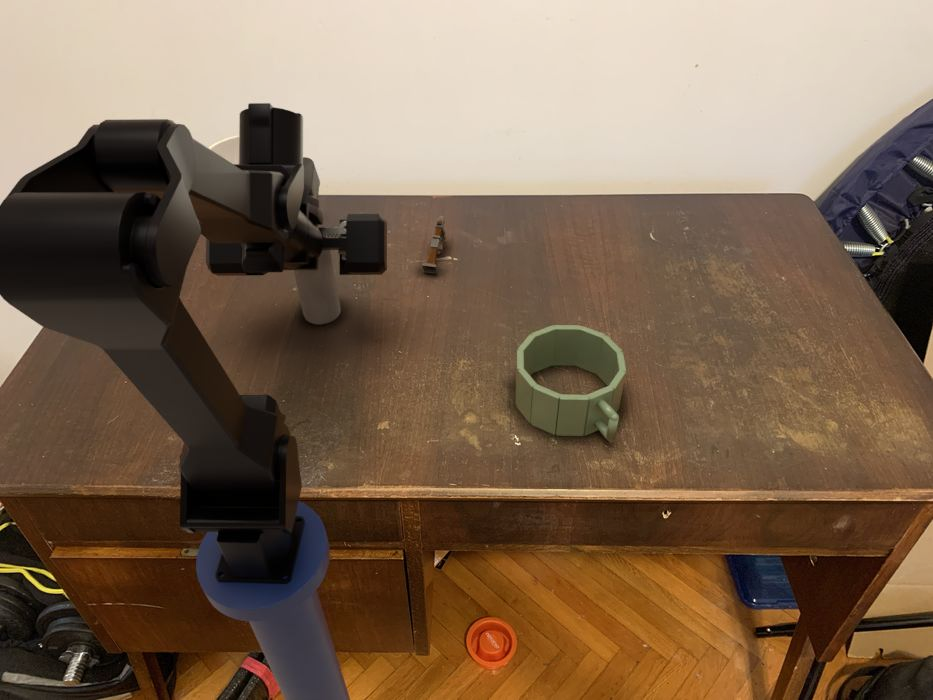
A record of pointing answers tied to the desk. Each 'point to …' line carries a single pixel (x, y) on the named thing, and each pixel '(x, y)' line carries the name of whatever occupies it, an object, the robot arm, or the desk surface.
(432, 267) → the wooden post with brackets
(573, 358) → the mug
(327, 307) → the grey hollow cylinder
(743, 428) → the desk surface
